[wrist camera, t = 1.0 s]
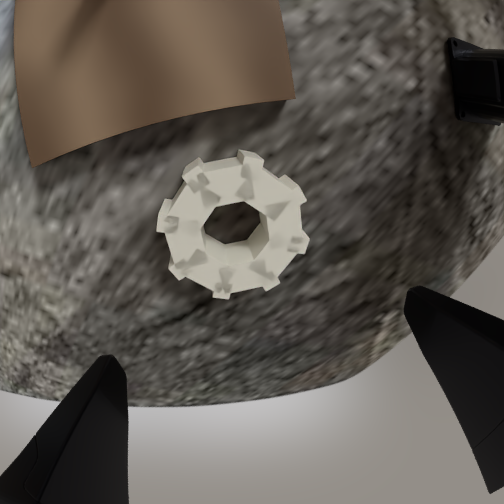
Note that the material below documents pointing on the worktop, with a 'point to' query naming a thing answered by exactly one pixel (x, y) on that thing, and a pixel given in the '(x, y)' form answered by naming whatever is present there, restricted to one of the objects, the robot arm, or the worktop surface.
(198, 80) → the gear board
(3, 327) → the worktop surface
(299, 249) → the loose gear
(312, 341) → the worktop surface
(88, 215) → the worktop surface
